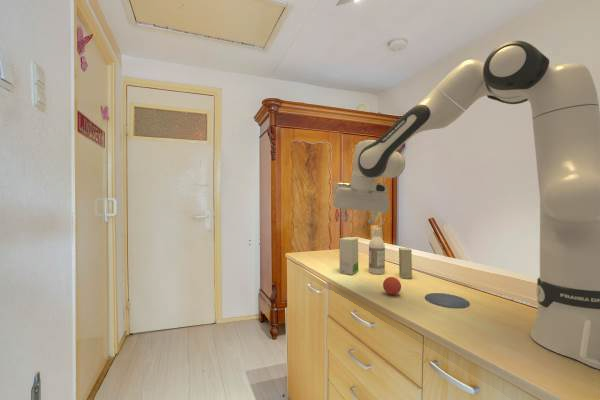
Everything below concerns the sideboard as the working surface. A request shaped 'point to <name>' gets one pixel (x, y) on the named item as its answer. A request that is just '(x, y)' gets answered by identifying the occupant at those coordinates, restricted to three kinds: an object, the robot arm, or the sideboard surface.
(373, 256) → the bath foam
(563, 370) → the sideboard surface
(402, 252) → the skincare box
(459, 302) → the dark gray round plate
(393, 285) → the ball
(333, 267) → the sideboard surface
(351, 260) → the skincare box
